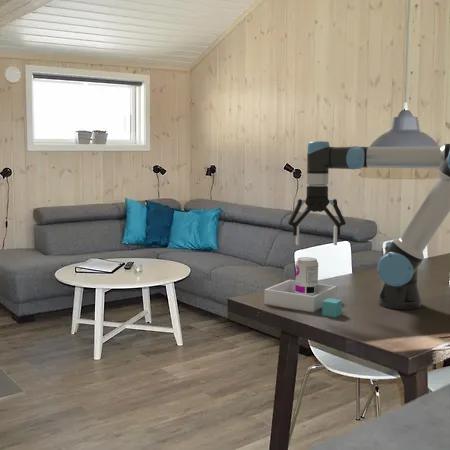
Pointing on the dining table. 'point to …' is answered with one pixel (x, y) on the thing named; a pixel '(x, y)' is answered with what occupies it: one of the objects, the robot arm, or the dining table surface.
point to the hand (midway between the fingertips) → (316, 244)
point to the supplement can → (306, 276)
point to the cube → (331, 307)
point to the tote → (298, 296)
